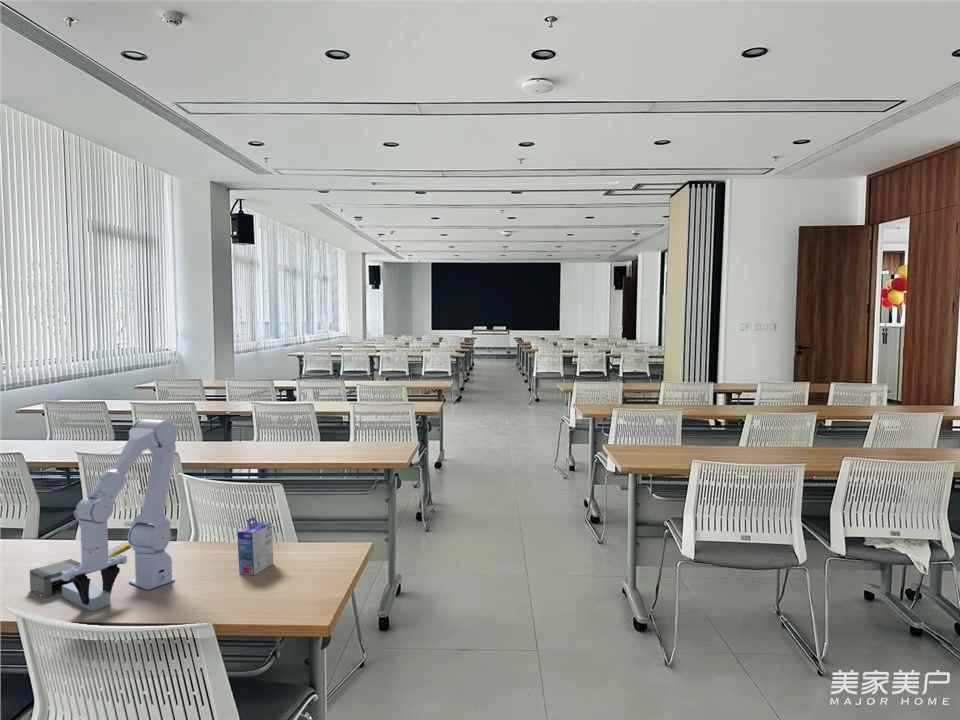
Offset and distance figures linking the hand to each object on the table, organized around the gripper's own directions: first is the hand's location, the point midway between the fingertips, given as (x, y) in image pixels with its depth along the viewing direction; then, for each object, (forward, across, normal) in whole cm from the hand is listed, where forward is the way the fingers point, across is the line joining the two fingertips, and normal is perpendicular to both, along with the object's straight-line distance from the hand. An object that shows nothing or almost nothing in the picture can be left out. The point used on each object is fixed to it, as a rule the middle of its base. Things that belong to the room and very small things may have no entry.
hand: (96, 600), depth 162 cm
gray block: (+1, 0, -20) cm, 20 cm away
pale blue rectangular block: (+1, 0, -5) cm, 5 cm away
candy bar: (+2, -21, -34) cm, 40 cm away
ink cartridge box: (+2, -38, +12) cm, 40 cm away
